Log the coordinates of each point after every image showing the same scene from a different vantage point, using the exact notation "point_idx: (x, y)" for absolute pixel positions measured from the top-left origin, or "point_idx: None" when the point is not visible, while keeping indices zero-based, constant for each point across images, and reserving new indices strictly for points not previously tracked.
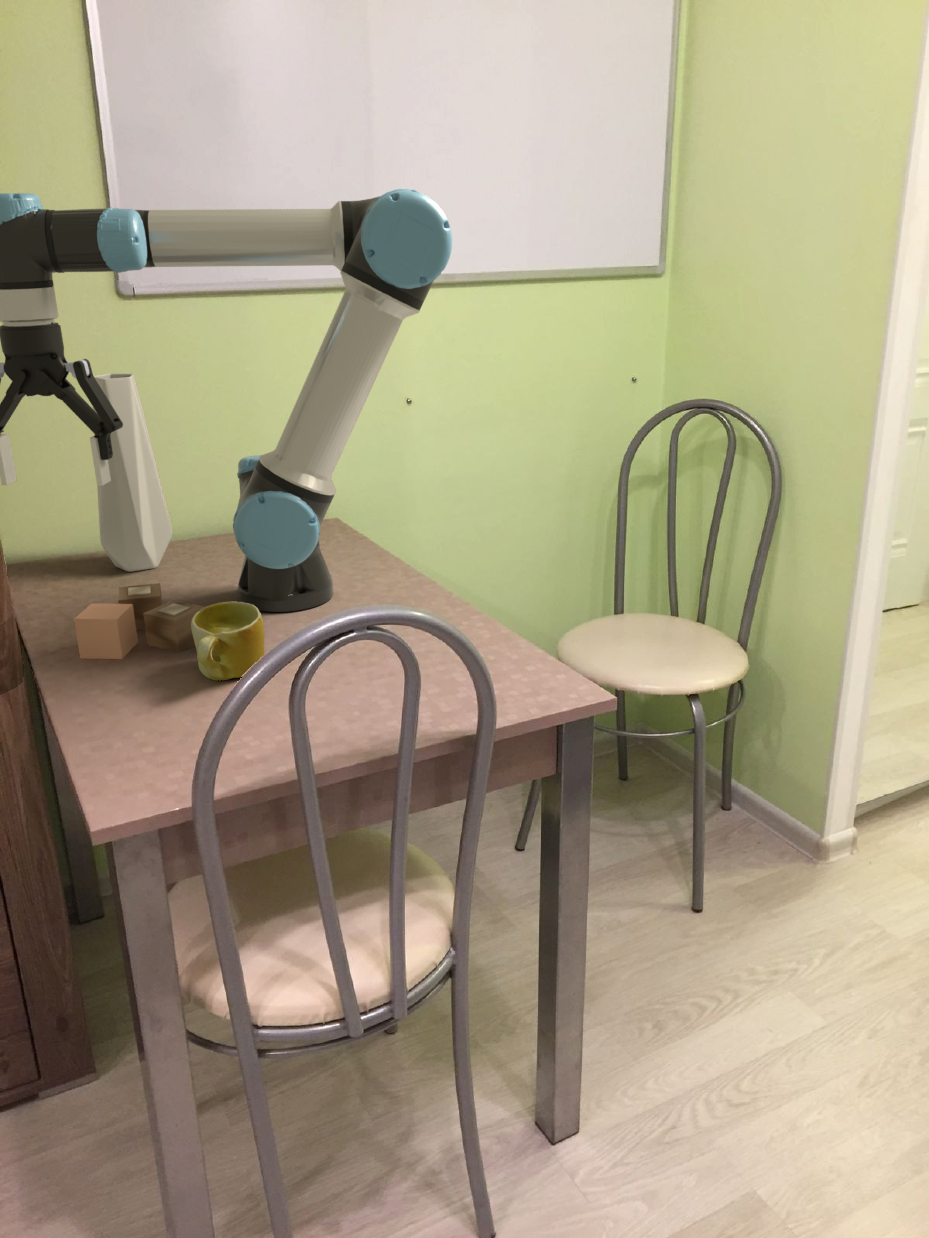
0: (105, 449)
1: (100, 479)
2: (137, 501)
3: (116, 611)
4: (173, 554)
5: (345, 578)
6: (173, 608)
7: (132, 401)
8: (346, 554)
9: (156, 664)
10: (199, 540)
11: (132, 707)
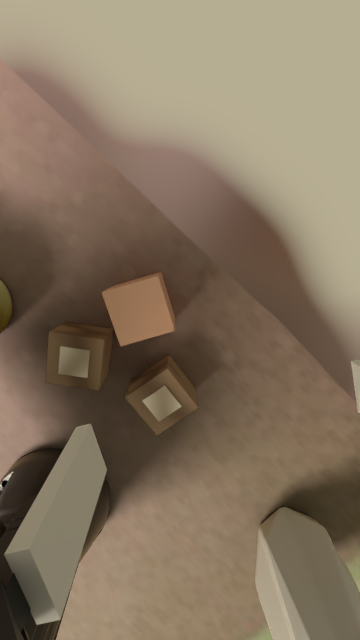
0: (14, 527)
1: (73, 436)
2: (289, 610)
3: (121, 316)
4: None
5: None
6: (75, 363)
7: None
8: (73, 619)
9: (66, 285)
10: None
11: (10, 176)
